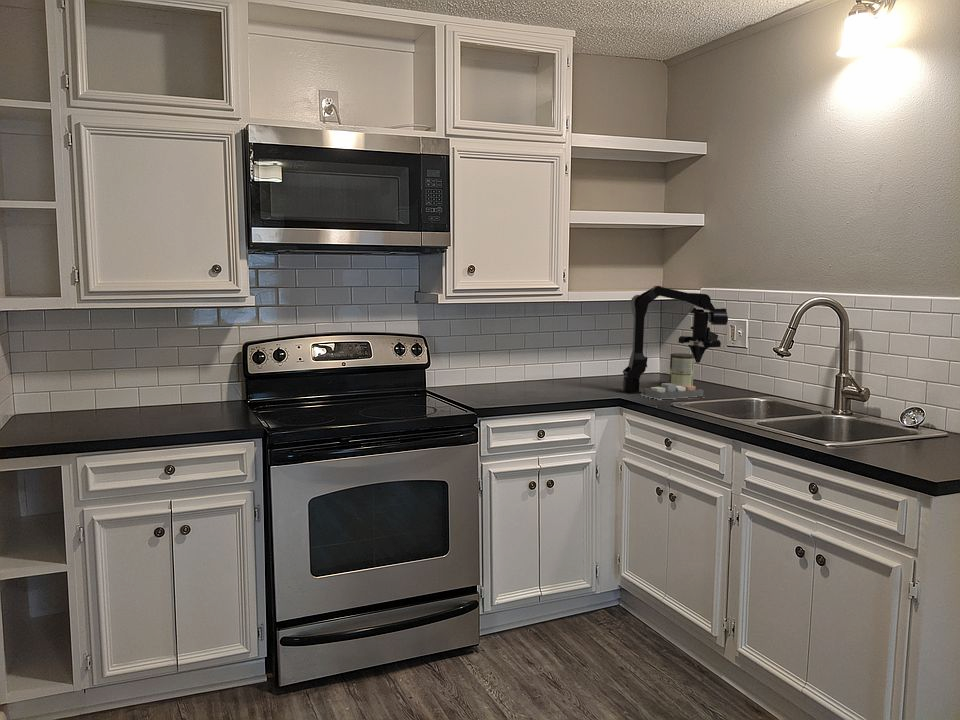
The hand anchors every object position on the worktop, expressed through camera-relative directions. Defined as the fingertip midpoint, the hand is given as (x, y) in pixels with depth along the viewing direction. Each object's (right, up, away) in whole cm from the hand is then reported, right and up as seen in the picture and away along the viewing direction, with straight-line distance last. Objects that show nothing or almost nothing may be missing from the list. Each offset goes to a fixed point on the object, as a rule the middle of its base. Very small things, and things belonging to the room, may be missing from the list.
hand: (697, 362), depth 320 cm
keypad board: (-12, -14, -7) cm, 19 cm away
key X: (-14, -11, -8) cm, 20 cm away
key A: (-19, -13, -10) cm, 25 cm away
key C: (-10, -13, -6) cm, 17 cm away
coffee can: (-2, -11, +21) cm, 24 cm away
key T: (-5, -12, -3) cm, 14 cm away
